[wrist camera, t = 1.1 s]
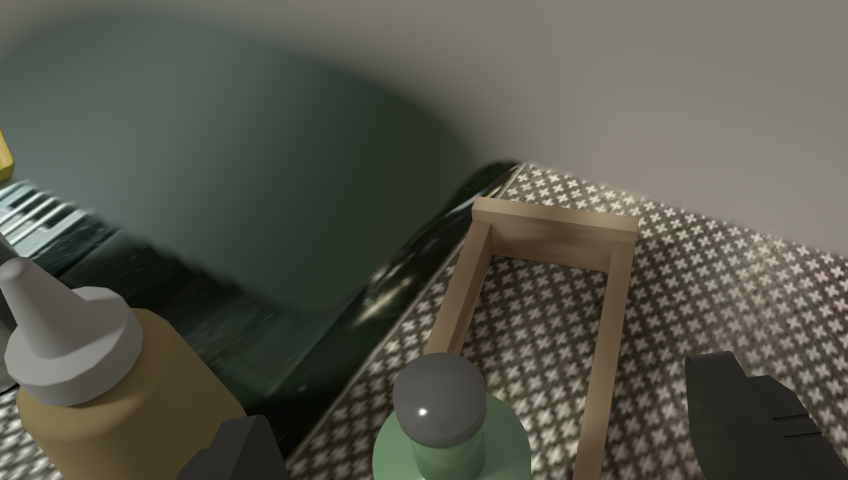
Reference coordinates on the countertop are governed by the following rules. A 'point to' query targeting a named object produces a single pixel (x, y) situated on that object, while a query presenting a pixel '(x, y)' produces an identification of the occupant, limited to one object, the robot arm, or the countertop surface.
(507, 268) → the countertop surface
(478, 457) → the bottle
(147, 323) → the squeeze bottle
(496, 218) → the u rest
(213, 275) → the countertop surface
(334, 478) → the countertop surface
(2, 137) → the yellow shallow square tray
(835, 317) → the countertop surface
